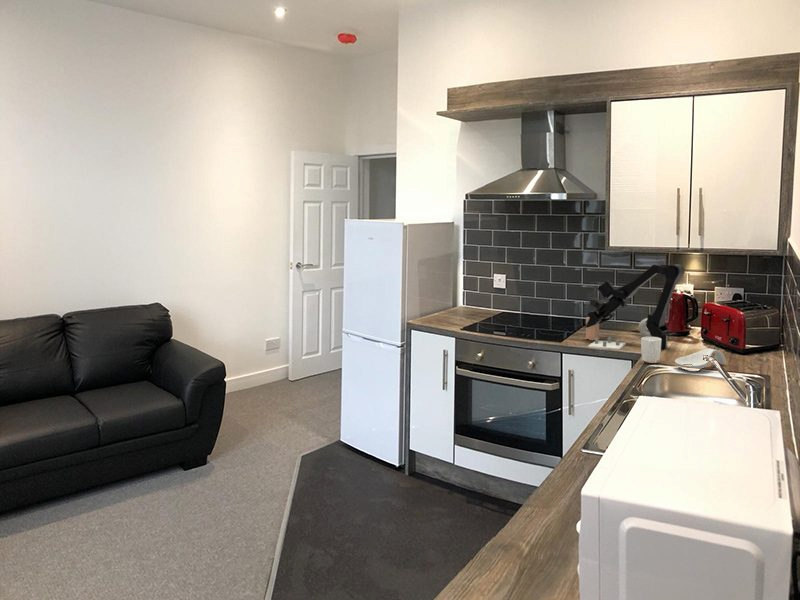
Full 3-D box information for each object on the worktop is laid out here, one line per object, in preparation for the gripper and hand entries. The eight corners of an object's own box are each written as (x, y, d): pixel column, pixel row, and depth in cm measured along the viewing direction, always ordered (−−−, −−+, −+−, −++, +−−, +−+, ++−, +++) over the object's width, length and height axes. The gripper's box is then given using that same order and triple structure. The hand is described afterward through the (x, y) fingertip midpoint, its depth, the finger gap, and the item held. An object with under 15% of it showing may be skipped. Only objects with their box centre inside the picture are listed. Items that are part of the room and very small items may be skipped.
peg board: (625, 344, 294) (625, 337, 293) (619, 350, 282) (619, 343, 281) (595, 341, 301) (595, 335, 300) (587, 347, 289) (588, 340, 289)
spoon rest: (694, 375, 237) (694, 357, 236) (668, 369, 247) (668, 351, 246) (733, 367, 248) (734, 349, 247) (707, 361, 258) (707, 344, 257)
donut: (638, 337, 307) (638, 317, 306) (638, 336, 311) (639, 316, 309) (659, 339, 303) (660, 319, 302) (660, 337, 306) (660, 317, 305)
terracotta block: (598, 339, 307) (599, 317, 306) (594, 340, 304) (594, 318, 302) (590, 338, 310) (590, 316, 309) (585, 339, 307) (586, 317, 305)
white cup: (650, 365, 254) (651, 341, 252) (636, 361, 261) (636, 337, 260) (665, 362, 257) (665, 339, 255) (650, 359, 264) (651, 335, 263)
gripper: (609, 290, 308) (588, 311, 317) (591, 295, 294) (570, 315, 304) (624, 308, 303) (602, 327, 312) (606, 313, 290) (584, 333, 299)
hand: (589, 325), depth 307 cm, fingers open, 7 cm apart
